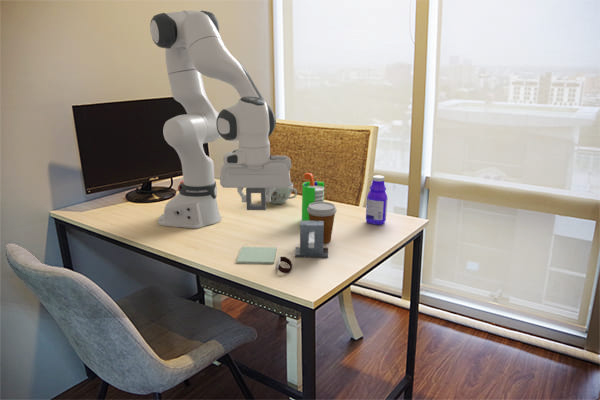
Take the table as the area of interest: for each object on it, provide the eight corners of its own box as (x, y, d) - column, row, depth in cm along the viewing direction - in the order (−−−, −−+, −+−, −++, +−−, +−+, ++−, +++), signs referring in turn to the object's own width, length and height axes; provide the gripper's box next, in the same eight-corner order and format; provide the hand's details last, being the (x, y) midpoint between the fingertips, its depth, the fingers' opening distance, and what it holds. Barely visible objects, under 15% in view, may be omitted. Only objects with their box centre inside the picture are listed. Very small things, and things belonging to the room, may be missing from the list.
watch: (275, 263, 141) (275, 252, 140) (291, 263, 141) (291, 251, 140) (276, 275, 134) (276, 263, 133) (293, 274, 134) (293, 263, 133)
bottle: (387, 221, 175) (390, 175, 170) (383, 226, 170) (386, 179, 165) (368, 218, 178) (370, 173, 173) (363, 223, 173) (366, 177, 168)
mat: (236, 263, 141) (236, 261, 140) (242, 248, 151) (242, 246, 151) (273, 263, 140) (273, 262, 140) (276, 249, 151) (276, 247, 150)
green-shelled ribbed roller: (321, 226, 170) (322, 177, 165) (299, 225, 172) (299, 176, 166) (325, 218, 179) (326, 171, 173) (304, 216, 180) (304, 170, 175)
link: (246, 210, 140) (245, 189, 138) (247, 208, 142) (246, 187, 140) (265, 210, 140) (264, 189, 138) (266, 208, 142) (265, 187, 140)
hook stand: (293, 270, 136) (293, 237, 133) (295, 249, 150) (295, 219, 148) (328, 270, 136) (329, 238, 133) (327, 250, 150) (328, 219, 147)
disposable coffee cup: (326, 248, 152) (327, 212, 148) (301, 242, 156) (301, 207, 153) (340, 238, 159) (341, 204, 156) (315, 233, 164) (316, 199, 161)
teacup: (256, 203, 195) (256, 185, 193) (272, 196, 206) (271, 178, 204) (289, 209, 189) (289, 189, 186) (303, 200, 200) (303, 182, 197)
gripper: (291, 153, 139) (292, 198, 143) (221, 153, 140) (224, 198, 144) (290, 157, 133) (291, 205, 137) (217, 157, 134) (220, 204, 138)
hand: (256, 201), depth 140 cm, fingers closed on link, 5 cm apart
